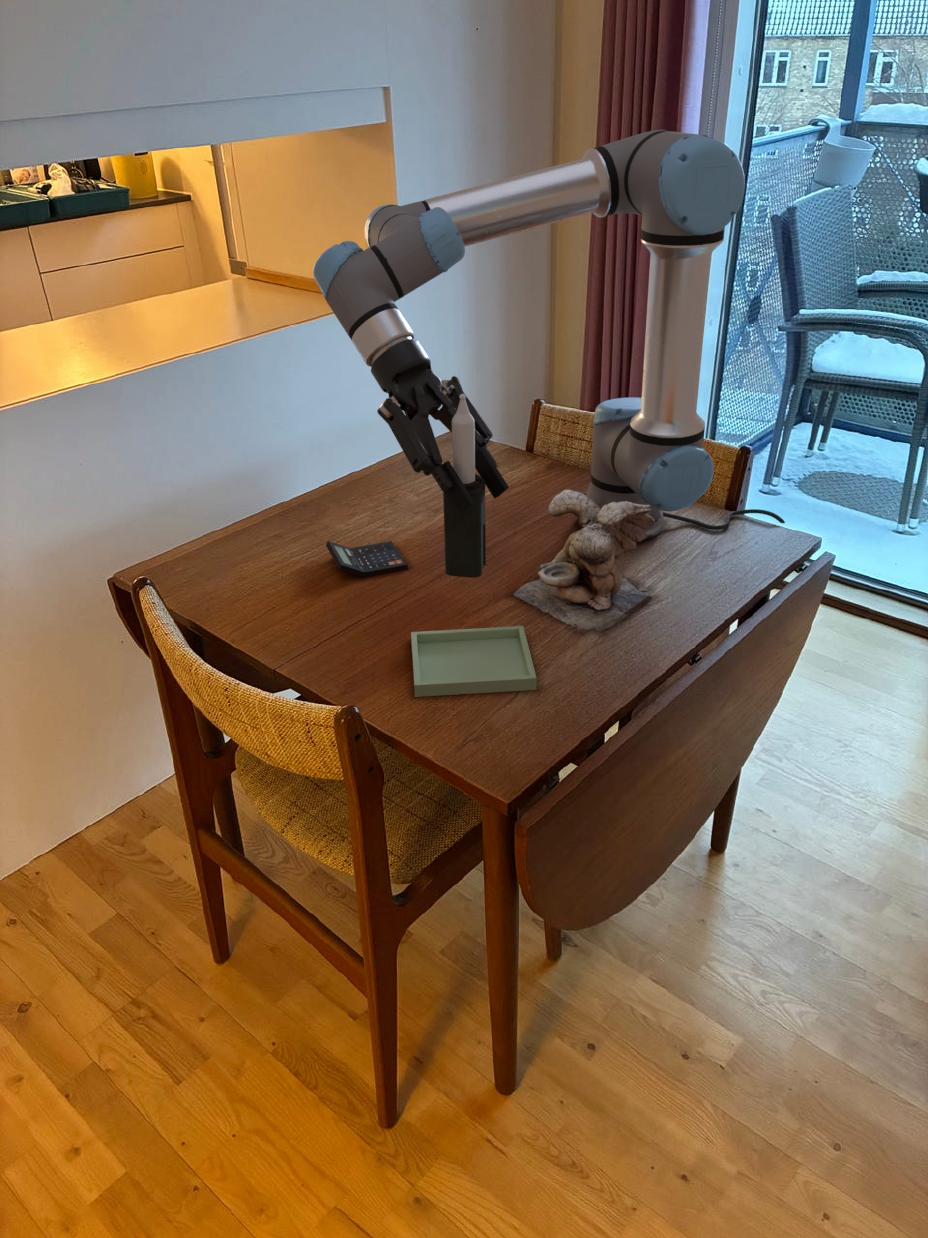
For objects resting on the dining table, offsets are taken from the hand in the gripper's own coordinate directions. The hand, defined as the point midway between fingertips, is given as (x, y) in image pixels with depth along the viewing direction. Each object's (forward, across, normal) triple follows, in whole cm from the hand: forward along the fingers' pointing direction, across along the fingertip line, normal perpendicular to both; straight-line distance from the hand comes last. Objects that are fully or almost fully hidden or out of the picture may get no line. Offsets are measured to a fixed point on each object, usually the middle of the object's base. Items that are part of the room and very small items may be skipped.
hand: (485, 500), depth 126 cm
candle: (+6, 0, -11) cm, 12 cm away
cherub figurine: (+18, -23, -17) cm, 34 cm away
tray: (+17, +3, -17) cm, 25 cm away
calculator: (-7, -8, -42) cm, 43 cm away
